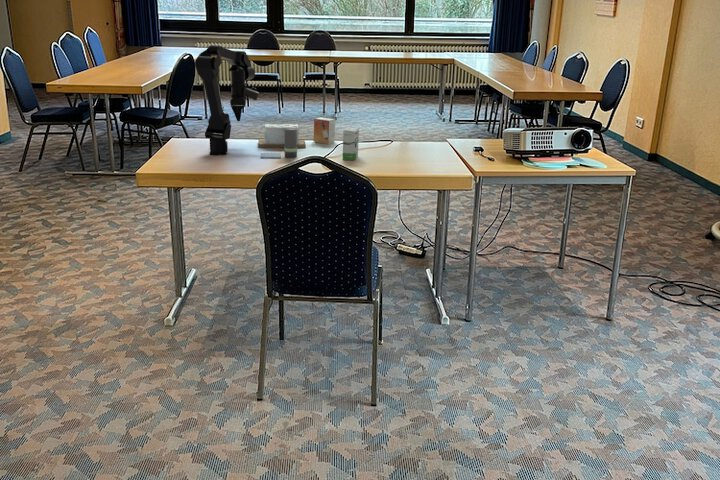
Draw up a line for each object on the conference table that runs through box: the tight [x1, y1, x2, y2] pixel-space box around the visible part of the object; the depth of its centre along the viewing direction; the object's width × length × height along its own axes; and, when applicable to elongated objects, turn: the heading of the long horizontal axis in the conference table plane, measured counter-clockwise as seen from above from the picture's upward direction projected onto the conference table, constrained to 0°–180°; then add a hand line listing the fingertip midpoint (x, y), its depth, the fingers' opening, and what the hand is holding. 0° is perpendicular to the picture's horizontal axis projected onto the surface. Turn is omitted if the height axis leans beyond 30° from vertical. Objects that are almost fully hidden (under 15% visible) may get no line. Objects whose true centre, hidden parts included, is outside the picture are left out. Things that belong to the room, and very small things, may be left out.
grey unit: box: [257, 123, 307, 149], centre depth 298 cm, size 20×10×8 cm, turn 98°
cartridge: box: [283, 128, 298, 159], centre depth 277 cm, size 5×5×11 cm
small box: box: [313, 116, 336, 145], centre depth 307 cm, size 8×6×10 cm
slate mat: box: [260, 152, 282, 159], centre depth 278 cm, size 8×7×1 cm
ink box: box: [342, 126, 360, 161], centre depth 278 cm, size 9×5×12 cm, turn 168°
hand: (239, 119), depth 293 cm, fingers open, 9 cm apart
